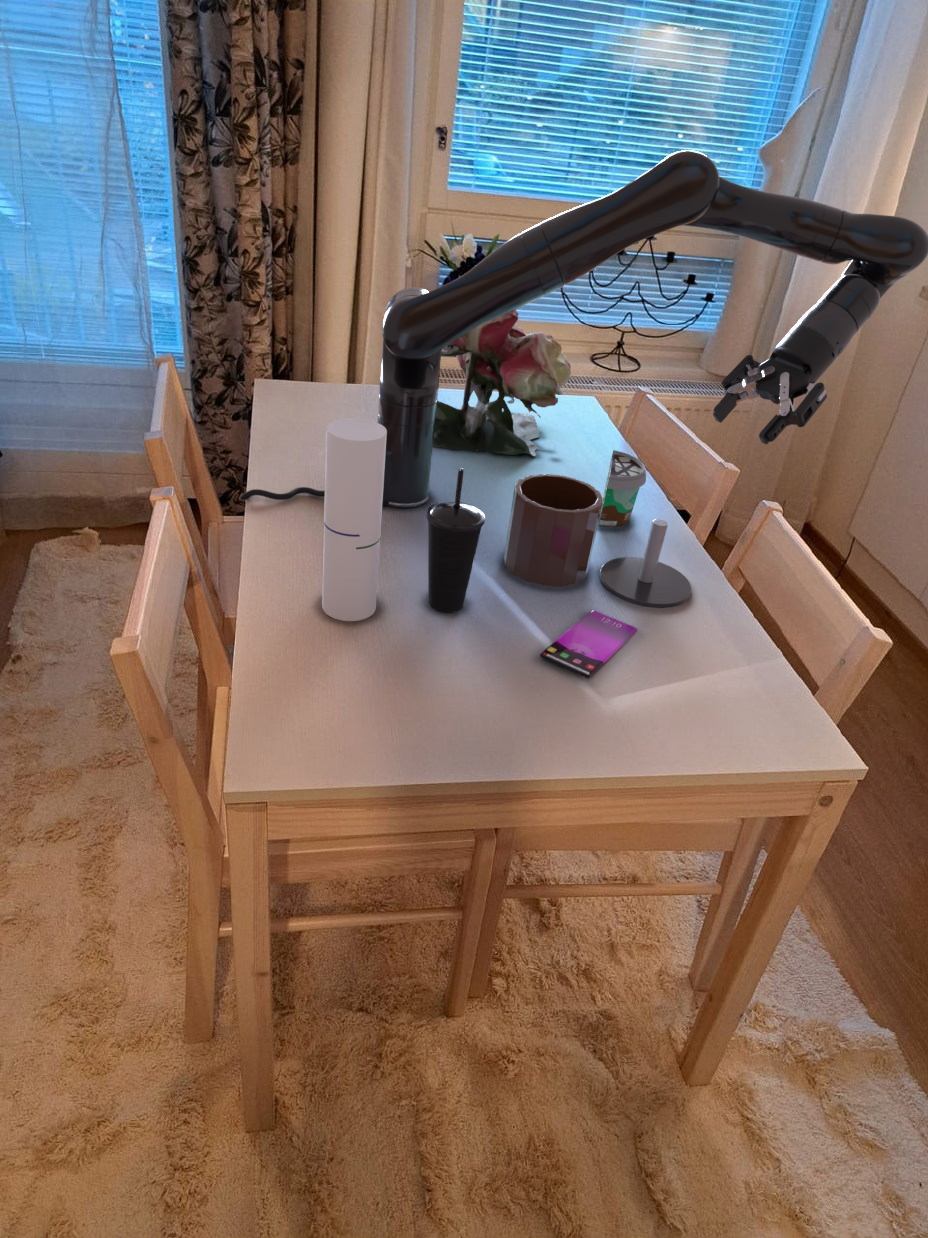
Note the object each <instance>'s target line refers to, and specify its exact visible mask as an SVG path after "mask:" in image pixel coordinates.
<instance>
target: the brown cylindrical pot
mask: <svg viewBox="0 0 928 1238" xmlns="http://www.w3.org/2000/svg"><path fill="white" fill-rule="evenodd" d="M602 503H603V495H602V494H601V492H600V491H599V490H598V489H597V488H595V486H593V485H592V484H590V483H587V482H585V481H584V480H581V479H578V478H575V477H570V476H565V475H561V474H553V473H552V474H551V473H540V474H530V475H528V476H525V477H522V478H520V479H518V481H517V482H516V483H515V484H514V487H513V495H512V501H511V508H510V512H509V513H510V514H509V520H508V526H507V534H506V540H505V547H504V552H503V562H504V566H505V567H506V569H507V570H509V572H510V573H512V575H514V576H516V577H518V578H520V579H522V580H524V581H525V582H527V583H532V584H535V585H540V586H543V587H559V588H560V587H561V588H562V587H566V586H567V587H568V586H573V585H576V584H578V583H580V582H581V581H583V580H585V579H586V576H587V574H588V572H589V568H590V563H591V559H592V554H593V550H594V544H595V540H596V535H597V530H598V526H599V521H600V516H601V514H600V513H601V508H602Z"/></svg>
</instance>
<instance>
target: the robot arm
mask: <svg viewBox="0 0 928 1238" xmlns="http://www.w3.org/2000/svg"><path fill="white" fill-rule="evenodd" d="M682 226H683V227H692V228H701V229H708V230H715V231H720V232H725V233H728V234H732V235H736V236H740V237H743V238H746V239H750V240H752V241H756V242H758V243H762V244H764V245H767V246H770V247H772V248H776V249H779V250H781V251H783V252H784V251H785V252H788V253H790V254H794V255H797V256H799V257H803V258H806V259H810V260H813V261H816V262H819V263H823V264H827V265H840V264H842V263H845V262H849V261H850V262H849V264H848V265H847V267H846V268H845V269H844V271H843V272H842V274H841V276H840V277H839V279H837V280H836V281H835V282H834V283H833V284H832V285H831V286H830V287H829V289H828V290H827V291H826V292H825V293H824V294H823V295H822V297H820V299H819V300H818V301H817V302H816V303H815V304H814V305H813V306H812V307H811V308H810V309H808V310H807V311H806V312H805V313H804V314H803V315H802V316H801V318H800V319H799V320H798V321H797V322H796V323H795V325H794V326H793V327H791V329H790V330H789V331H788V332H787V334H786V335H785V336H784V337H783V338H782V339H781V340H780V341H779V343H777V345H776V346H775V347H774V349H773V350H772V352H771V355H770V357H769V358H768V359H766V360H765V361H763V362H759V361H757V360H755V358H754V356H753V354H747V355H746V356H745V357H744V358H743V359H742V360H741V361H739V363H738V364H737V365H736V366H735V367H734V368H733V369H732V370H731V371H730V372H729V373H728V374H727V375H726V376H725V377H724V378H723V380H722V381H721V386H722V388H723V391H724V393H725V395H724V396H723V397H722V398H721V400H720V401H718V403H717V404H716V405H715V406H714V408H713V412H712V416H713V417H714V419H715V421H716V422H718V423H722V422H723V421H724V420H726V418H727V417H728V416H729V415H730V414H731V412H732V411H733V410H734V409H735V408H736V407H737V405H738V403H741V402H742V401H745V400H748V399H749V400H754V399H756V398H759V397H760V398H761V399H763V400H769V401H771V402H772V403H773V404H775V405H779V414H775V415H774V416H773V417H772V418H771V419H770V420H769V422H768V423H767V424H766V425H765V426H764V427H763V429H761V431H760V432H759V434H758V439H759V440H760V443H762V444H764V445H768V444H769V443H771V442H774V441H775V440H776V439H777V438H778V436H779V435H780V434H781V433H782V432H783V431H784V430H785V429H786V428H787V427H790V426H791V425H793V426H797V427H798V428H804V427H805V426H806V425H807V424H808V422H809V421H810V420H811V419H812V417H813V416H814V415H815V413H816V412H817V411H818V410H819V408H820V407H821V406H822V405H823V403H824V402H825V401H826V400H827V398H828V393H827V390H826V387H825V384H824V382H817V381H819V379H820V378H821V377H822V376H823V375H824V374H825V373H826V371H827V370H828V369H829V368H830V366H831V365H832V364H834V362H835V361H836V360H837V358H839V356H840V355H841V354H842V353H843V352H844V350H846V348H847V347H848V346H849V344H850V343H851V341H852V339H853V338H854V337H855V335H856V334H857V333H858V332H859V331H860V330H861V328H862V327H863V326H864V325H865V324H866V323H867V322H868V320H869V319H870V318H871V317H872V316H873V314H874V313H875V312H876V310H877V309H878V307H879V304H880V302H881V299H882V298H883V296H885V294H886V293H887V292H888V291H889V290H890V289H892V288H893V286H894V285H895V284H896V283H897V282H898V281H900V280H901V279H903V278H904V277H905V276H907V275H909V274H911V273H912V272H913V271H915V270H916V269H917V268H918V267H920V266H921V265H922V263H924V262H925V260H926V259H927V257H928V232H927V231H926V230H925V229H924V227H923V226H921V225H920V224H918V223H917V222H915V221H914V220H912V219H909V218H905V217H902V216H901V217H900V216H896V215H887V214H875V213H855V212H850V211H847V210H844V209H841V208H839V207H835V206H832V205H829V204H826V203H822V202H819V201H815V200H811V199H806V198H803V197H802V198H801V197H797V196H791V195H786V194H781V193H780V194H779V193H775V192H770V191H764V190H760V189H754V188H751V187H747V186H744V185H741V184H738V183H735V182H732V181H730V180H728V179H725V178H723V177H721V176H720V174H719V170H718V167H717V166H716V164H715V163H714V161H713V160H712V159H711V158H710V157H708V156H707V155H705V154H704V153H702V152H699V151H696V150H681V151H676V152H673V153H671V154H669V155H668V156H666V157H664V159H662V160H661V161H660V162H659V163H658V164H656V165H655V166H653V167H652V168H650V169H649V170H648V171H646V172H644V173H642V174H641V175H640V176H638V177H637V178H635V179H633V180H632V181H630V182H628V183H627V184H625V185H623V186H622V187H620V188H619V189H617V190H615V191H613V192H612V193H609V194H607V195H605V196H602V197H601V198H597V199H595V200H592V201H590V202H586V203H584V204H582V205H579V206H576V207H573V208H572V209H569V210H566V211H564V212H561V213H559V214H557V215H555V216H553V217H550V218H548V219H545V220H543V221H542V222H540V223H538V224H535V225H534V226H532V227H530V228H528V229H526V230H524V231H522V232H521V233H518V234H517V235H515V236H512V238H510V239H508V240H507V241H506V242H504V243H502V244H501V245H500V246H498V247H497V248H496V249H494V250H493V251H492V252H491V253H489V254H488V255H487V256H485V257H484V258H482V259H481V261H479V262H478V263H476V265H475V266H473V267H472V268H471V269H469V270H467V272H465V273H464V274H463V275H461V276H459V277H458V278H456V279H454V280H451V281H450V282H448V283H446V284H443V285H442V286H439V287H437V288H435V289H432V290H430V291H428V290H427V289H425V288H422V287H415V286H413V287H406V288H403V289H401V290H399V291H398V292H396V293H395V294H393V296H392V297H391V298H390V299H389V301H388V302H387V305H386V307H385V311H384V314H383V319H382V328H381V332H382V333H381V334H382V351H381V363H380V373H379V390H378V392H379V393H378V395H379V396H378V407H377V408H378V409H377V423H379V424H381V425H382V426H384V427H385V428H386V430H387V437H386V453H385V469H384V485H383V501H382V507H387V506H389V507H394V508H403V509H405V508H407V509H409V508H415V507H419V506H422V505H424V504H426V503H427V502H428V501H429V496H430V493H429V491H430V481H431V469H432V460H433V459H432V457H433V448H434V446H433V439H434V428H435V418H436V408H437V400H438V396H439V387H440V374H441V360H442V359H441V358H442V356H441V351H442V350H443V349H444V348H445V347H447V346H449V344H450V343H452V342H453V341H455V340H456V339H458V338H459V337H461V336H463V335H464V334H466V333H467V332H469V331H471V330H472V329H474V328H476V327H477V326H479V325H481V324H483V323H485V322H487V321H490V320H492V319H494V318H497V317H499V316H502V315H504V314H506V313H509V312H511V311H513V310H515V309H516V310H517V309H519V308H522V307H524V306H526V305H529V304H530V303H532V302H534V301H537V300H539V299H542V298H544V297H545V296H547V295H549V294H552V293H553V292H556V291H558V290H559V289H562V288H563V287H565V286H567V285H569V284H571V283H573V282H574V281H577V280H578V279H580V278H582V277H583V276H586V275H587V274H589V272H592V271H594V270H595V269H597V268H598V267H600V266H601V265H603V264H604V263H606V262H607V261H609V260H610V259H611V258H613V257H614V256H616V255H617V254H619V253H620V252H622V251H624V250H625V249H627V248H629V247H631V246H632V245H635V244H636V243H639V242H641V241H644V240H646V239H648V238H651V237H653V236H656V235H659V234H660V233H663V232H666V231H669V230H672V229H675V228H678V227H682ZM816 382H817V383H816ZM753 385H755V388H753V387H752V386H753ZM803 395H806V396H805V397H804V398H803V400H802V401H800V403H799V405H798V406H797V407H796V408H795V401H796V400H795V399H797V398H798V397H801V396H803ZM299 494H308V495H312V496H315V497H318V498H319V497H320V498H323V497H324V498H325V489H324V490H319V489H315V488H313V487H309V486H299V487H295V488H293V489H291V490H289V491H288V492H283V493H277V492H272V491H269V490H265V489H261V488H254V489H249V490H248V491H245V492H244V493H243V494H242V495H241V496H240V497H239V500H241V501H245V500H248V499H249V498H251V497H254V496H261V497H265V498H267V499H272V500H277V501H286V500H289V499H291V498H293V497H295V496H296V495H299Z"/></svg>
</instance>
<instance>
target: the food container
mask: <svg viewBox="0 0 928 1238" xmlns="http://www.w3.org/2000/svg"><path fill="white" fill-rule="evenodd" d="M646 481H647V469H646V466H645V463H644V462H643V461H642V460H640V459H639V458H637V457H635V456H634V455H631V454H630V453H627V452H624V451H619V450H616V449H615V450H614V449H613V450H612V453H611V458H610V463H609V468H608V472H607V477H606V482H605V487H604V492H603V495H602V498H603V503H602V508H601V513H600V517H599V522H598V526H599V527H604V528H608V527H609V528H616V527H622V526H624V525H626V524H628V523H629V521H630V520H631V516H632V514H633V513H632V512H633V510H634V506H635V503H636V500H637V497H638V494H639V491H640V488H641V487H642V486H644V485H645V484H646Z"/></svg>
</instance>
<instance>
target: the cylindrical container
mask: <svg viewBox="0 0 928 1238" xmlns="http://www.w3.org/2000/svg"><path fill="white" fill-rule="evenodd" d="M386 437H387V430H386V428H385V427H384V426H382V425H381V424H379V423H378V421H377V422H376V421H374V420H370V419H365V418H356V417H355V418H354V417H350V418H349V417H346V418H339V419H335V420H332V421H330V422H329V423H327V424H326V427H325V462H324V463H325V466H324V468H325V470H324V475H325V476H324V490H325V497H324V507H323V508H324V510H323V511H324V512H323V513H324V514H323V547H322V548H323V552H322V558H323V559H322V591H321V592H322V593H321V608H322V611H323V612H324V613H325V615H327V616H329V617H331V618H332V619H335V620H338V621H342V622H359V621H363V620H365V619H369V617H371V616H373V614H374V613H375V611H376V608H377V597H378V596H377V594H378V578H379V565H380V564H379V563H380V545H381V531H382V515H383V506H382V501H383V485H384V469H385V453H386Z"/></svg>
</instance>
